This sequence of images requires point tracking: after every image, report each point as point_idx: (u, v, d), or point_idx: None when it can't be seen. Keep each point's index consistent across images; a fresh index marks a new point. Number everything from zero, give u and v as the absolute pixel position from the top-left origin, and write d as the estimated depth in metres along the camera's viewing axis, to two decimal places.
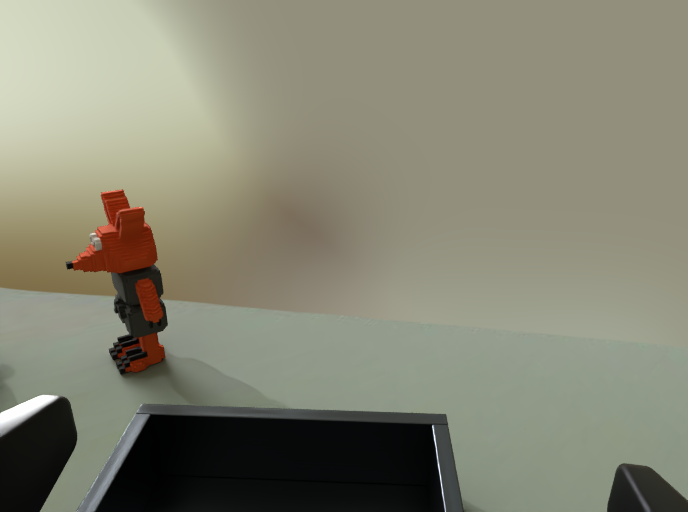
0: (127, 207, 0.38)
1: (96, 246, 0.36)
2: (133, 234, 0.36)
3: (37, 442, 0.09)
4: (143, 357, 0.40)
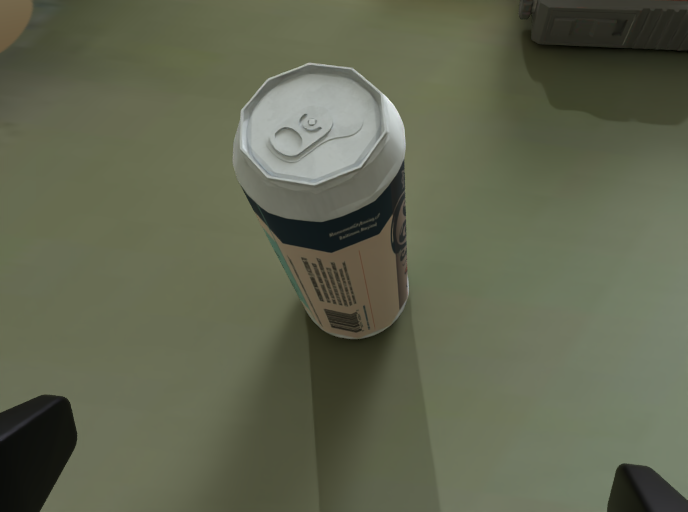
0: None
1: None
2: None
3: (37, 442, 0.09)
4: None
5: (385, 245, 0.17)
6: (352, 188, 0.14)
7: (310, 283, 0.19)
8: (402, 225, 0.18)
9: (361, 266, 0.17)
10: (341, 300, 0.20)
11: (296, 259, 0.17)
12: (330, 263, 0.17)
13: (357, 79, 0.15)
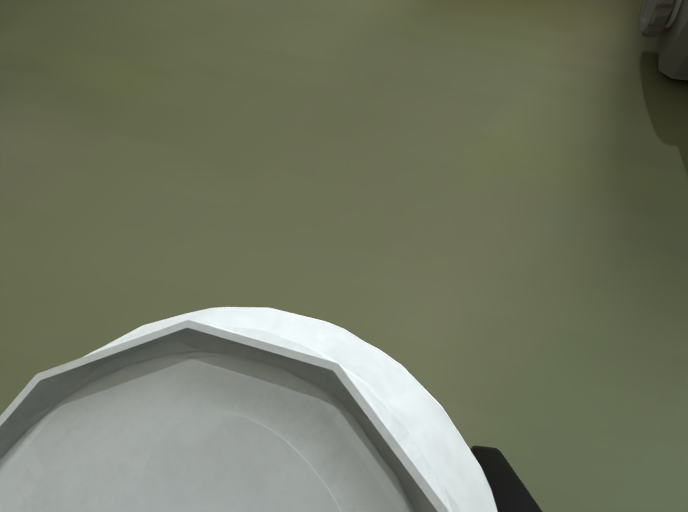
0: None
1: None
2: None
3: None
4: None
5: None
6: None
7: None
8: None
9: None
10: None
11: None
12: None
13: (354, 403, 0.04)
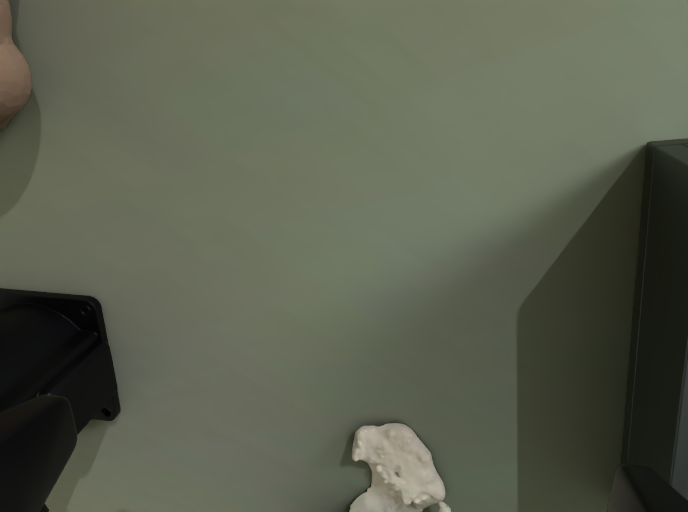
0: None
1: None
2: None
3: (37, 442, 0.09)
4: None
5: None
6: None
7: None
8: None
9: None
10: None
11: None
12: None
13: None
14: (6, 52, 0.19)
